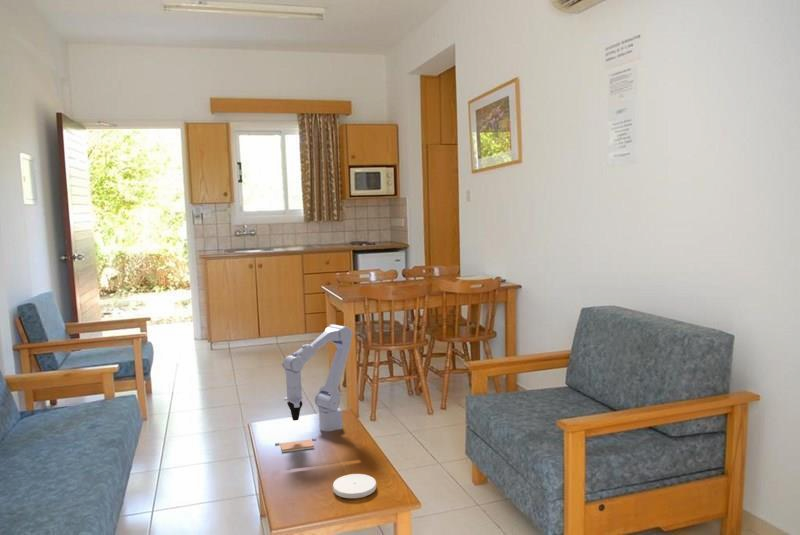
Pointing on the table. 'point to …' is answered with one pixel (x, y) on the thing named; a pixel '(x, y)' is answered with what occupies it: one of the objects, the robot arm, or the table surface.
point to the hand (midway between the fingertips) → (295, 419)
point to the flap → (296, 445)
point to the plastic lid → (354, 486)
